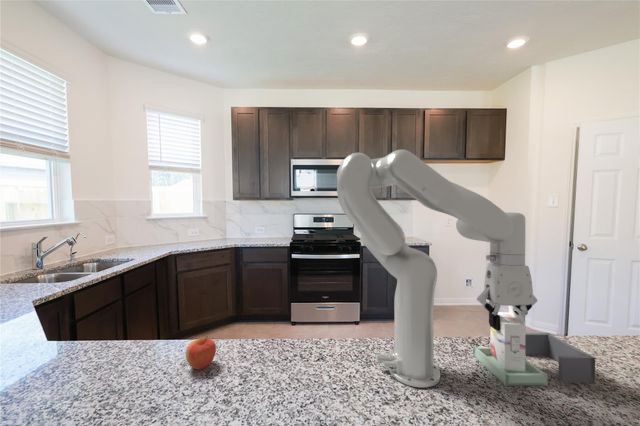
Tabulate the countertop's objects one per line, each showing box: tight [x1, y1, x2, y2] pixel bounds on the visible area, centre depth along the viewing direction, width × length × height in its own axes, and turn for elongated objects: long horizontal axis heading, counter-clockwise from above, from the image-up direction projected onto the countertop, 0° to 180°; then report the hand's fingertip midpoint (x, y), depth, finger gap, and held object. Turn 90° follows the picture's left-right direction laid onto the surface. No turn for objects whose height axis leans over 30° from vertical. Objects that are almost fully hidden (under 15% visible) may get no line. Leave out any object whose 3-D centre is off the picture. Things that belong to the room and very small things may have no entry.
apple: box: [185, 335, 217, 371], centre depth 70 cm, size 7×7×8 cm
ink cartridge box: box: [489, 306, 527, 372], centre depth 69 cm, size 9×5×15 cm, turn 169°
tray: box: [472, 346, 548, 387], centre depth 69 cm, size 10×13×2 cm
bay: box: [525, 332, 596, 384], centre depth 70 cm, size 8×13×6 cm, turn 0°
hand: (506, 327), depth 69 cm, fingers closed on ink cartridge box, 5 cm apart
